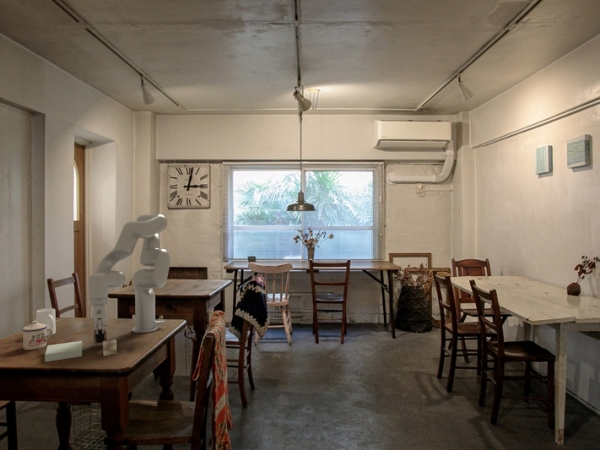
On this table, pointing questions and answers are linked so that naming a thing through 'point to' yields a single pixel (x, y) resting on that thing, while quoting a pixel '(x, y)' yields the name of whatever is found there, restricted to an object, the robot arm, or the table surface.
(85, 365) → the table surface
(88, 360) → the table surface
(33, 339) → the teacup with lid
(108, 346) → the ash block
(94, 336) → the walnut block
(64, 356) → the base board
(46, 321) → the mug
